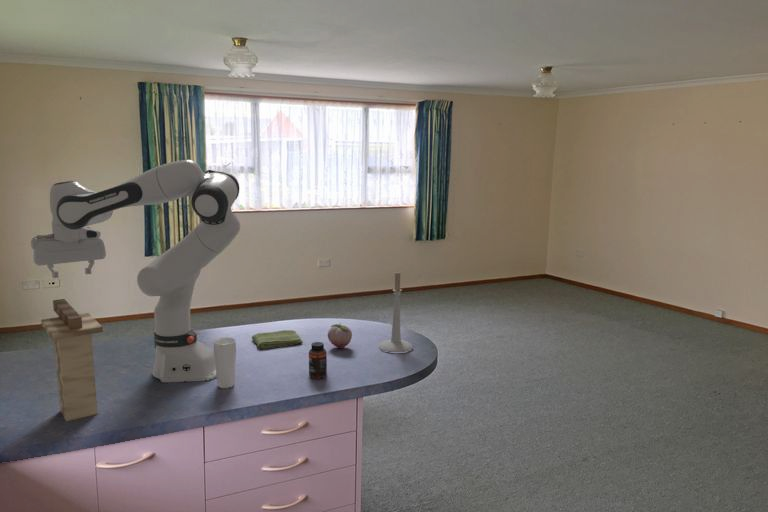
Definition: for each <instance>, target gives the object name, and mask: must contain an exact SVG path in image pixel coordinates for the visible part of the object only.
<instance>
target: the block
mask: <svg viewBox="0 0 768 512" xmlns="http://www.w3.org/2000/svg"><path fill="white" fill-rule="evenodd" d="M52 305H53V306H52V307H53V311H54V313H55V314H56V315H57V317H60V318H61V320H62V321H63V322H64V323H65V324H66V326H67V327H68V328H69V329H70V330H72V329H78V328H82V317H81V316H80V315H79V314H80V313H78V312H77V310H75V309H74V307H72V306H71V304H69V302H68V301H67V300H66V299H65V298H61V299H54V300H52Z"/></svg>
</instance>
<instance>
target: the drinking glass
mask: <svg viewBox="0 0 768 512" xmlns="http://www.w3.org/2000/svg"><path fill="white" fill-rule="evenodd" d="M236 342H237V341H236V339H235V338H233V337H219V338H217V339H214V341H213V352H214V360H215V367H216V375H217V377H216V386H217V387H218V388H219V387H220V389H230V388H232V387H234V386H235V377H236V376H235V375H236V373H235V372H236V357H237V354H236V353H237V343H236ZM233 385H234V386H233ZM229 387H230V388H229Z"/></svg>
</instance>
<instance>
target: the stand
mask: <svg viewBox="0 0 768 512" xmlns="http://www.w3.org/2000/svg"><path fill="white" fill-rule="evenodd" d="M78 314H79V315H80V316H81V317H82V328H78V329H72V330H70V329H69V328H68V327H67V326H66V324H65V323H64V322H63V321H62V320H61V318H60V317H59V316H57V317H50V318H44V319H40V321H41V322H40V323H41V326H42V328H43V329H44V330H45V332H46V333H47V335H48V336H49V337H50V339H51V340H52V341H53V347H54V357H55V358H54V359H55V367H56V369H55V370H56V379H57V390H58V399H59V400H58V402H59V410H60V412H61V415H62V416H63V418H64V420H65V422H66V423H67V422H71V421H74V420H79V419H82V418H87V417H91V416H94V415H98V413H99V412H98V399H97V388H96V387H97V386H96V377H95V376H96V375H95V364H94V363H95V362H94V349H93V348H94V347H93V339H92V336H93V334H99V333H103V331H104V330H103V326H102V325H101V324H100V323H99V322H98V321H97V320H96V319H95V318H94V317H93V316H92V315H91V314H90V312H83V313H78Z"/></svg>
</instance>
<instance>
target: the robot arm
mask: <svg viewBox="0 0 768 512" xmlns="http://www.w3.org/2000/svg"><path fill="white" fill-rule="evenodd" d="M239 194H240V183H239V181H238V179H237V177H235V176H234V175H233V174H231V173H229V172H225V171H217V170H214V169H213V170H212V169H207V170H205V172H204V171H203V170H202V168H201V167H200V165H199V163H197V162H196V161H194V160H192V159H182V160H176V161H172V162H167V163H164V164H161V165H158V166H155V167H152V168H151V169H148V170H146V171H144V172H142V173H139V174H138V175H137V176H135V177H132V178H130V179H129V180H126V181H125V182H122V183H121V184H119V185H118V184H117V186H116V185H115V186H113V187H110V188H107V189H105V190H101V191H98V192H97V191H95V190H92V189H89V188H87V187H85V186H83V185H82V184H81V183H80V182H78V181H76V180H69V181H61V182H56V183H54V184H53V185H52V186H51V187H50V191H49V207H50V213H51V215H52V216H51V217H52V221H51V230H52V233H50V234H49V233H48V234H38V235H36V236H34V237H33V238H32V239H31V242H30V245H31V248H32V249H33V257H32V258H33V262H34V264H35V265H37V266H38V267H39V266H40V267H41V266H47V269H49V271H50V272H51V274H52V275H51V276H52V279H58V278H59V271H56V270H55V271H54V269H53V268H55V267H54V266H55V265H57V264H69V263H79V262H88V263H89V264H88V266H87V267H86V268H84V273H85V274H86V275H92V269H93V267H94V264H95V261H97V260H98V261H99V260H104V259H105V258H106V256H107V252H106V246H105V243H104V240H103V239H102V238H101V235H102V234H101V231H100V230H99V229H97V228H92V227H90V226H92V225H96V224H101V223H104V222H107V220H109V219H110V218H111V217H112V215H113V212H114V211H116V210H119V209H123V208H127V207H128V208H129V207H130V208H131V207H138V206H152V205H159V204H165V203H169V202H173V201H176V200H178V199H182V198H185V197H191V200H190V201H191V207H192V210H193V212H194V213H195V214H196V215H197V216H198V217H199V218H200V220H201V221H200V222H199V223H198V224H197V225H196V226H195V227H194V228H192V229H191V231H190V232H189V233H187V234H186V235H185V236H184V237H183V238H182V239H181V240H180V241H179V242H177V243H175V244H174V245H173V246H171V247H170V248H168V249H167V250H166V251H164V252H162V254H160V255H159V256H158V257H156V258H155V259H154V260H152V261H151V262H150V263H148V264H147V265H146V266H144V267H143V268H141V270H140V271H139V272H138V274H137V277H136V278H137V279H136V282H137V286H138V288H139V289H140V292H142V293H143V294H144V295H146V296H148V297H159V300H158V302H157V303H156V306H155V308H154V310H153V311H154V312H153V315H154V330H155V331H154V332H153V345H154V348H155V356H154V364H153V368H152V373H151V374H152V376H153V377H154V378H156V379H159V380H160V382H161V383H181V382H184V381H187V382H205V380H207V381H211V380H213V379H215V378H217V377H216V376H217V375H216V367H215V360H214V350H212V349H211V348H210V347H208V346H206V345H205V344H204V343H202V342H200V341H199V340H198V339H197V336H198V335H199V331H198V330H197V331H194V330H193V329H192V328H191V304H192V303H191V302H192V298H193V294H194V290H195V285H196V282H197V280H198V278H199V276H200V275H201V270H202V269H203V268H205V267H206V266H208V264H210V263H211V262H212V261H213V260H214V259H215V258H216V257H218V255H220V254H221V253H222V252H223V251H224V250H225V249H226V248H227V247H228V246H229V245H230V244H231V243H232V242H233V241H234V239H236V236H238V234H239V232H240V230H241V222H240V220H239V219H238V217H237V216H236V215H235V214H234V213H233V211H232V207H233V205H234V203H235V201H236V200H237V199H238V197H239ZM88 226H89V227H88ZM210 379H211V380H210Z"/></svg>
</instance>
